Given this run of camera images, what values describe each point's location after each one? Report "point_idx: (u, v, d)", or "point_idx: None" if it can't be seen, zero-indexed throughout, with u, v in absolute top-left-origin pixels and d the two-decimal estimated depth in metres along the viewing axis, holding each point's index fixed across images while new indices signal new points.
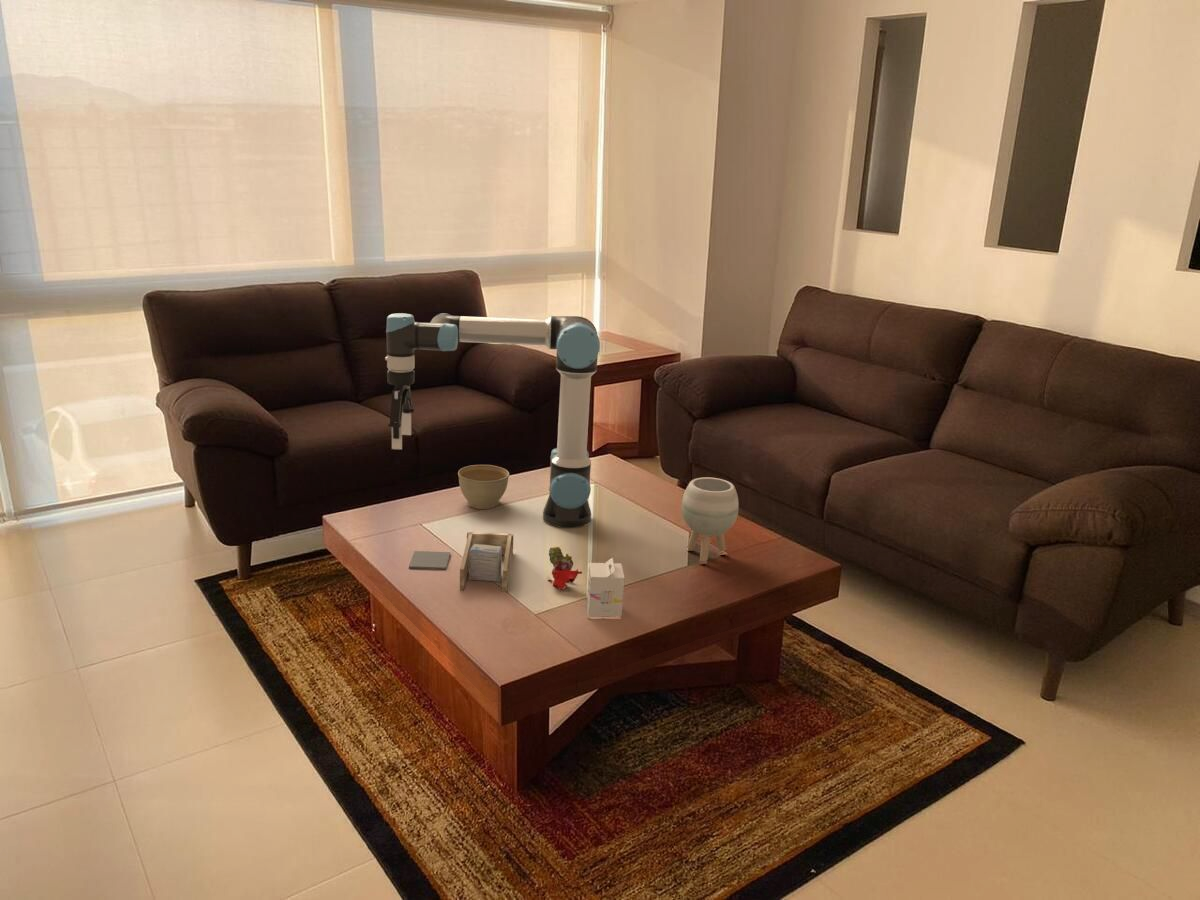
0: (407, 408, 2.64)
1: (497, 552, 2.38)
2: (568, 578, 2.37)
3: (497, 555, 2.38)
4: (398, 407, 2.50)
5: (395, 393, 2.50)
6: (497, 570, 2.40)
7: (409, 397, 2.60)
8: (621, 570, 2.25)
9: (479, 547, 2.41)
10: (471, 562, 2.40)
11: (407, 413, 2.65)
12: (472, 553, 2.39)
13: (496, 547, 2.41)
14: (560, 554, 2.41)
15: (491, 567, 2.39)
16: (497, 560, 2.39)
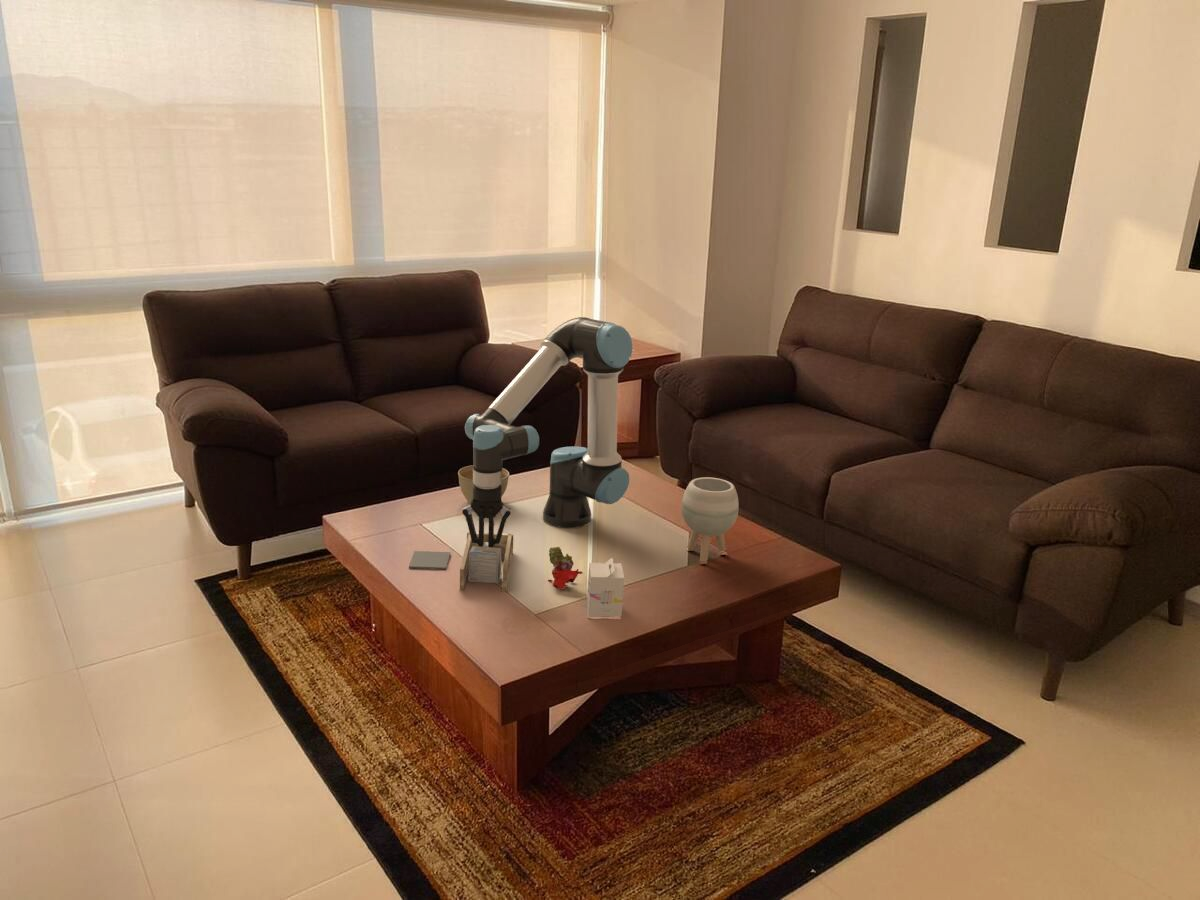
0: None
1: (497, 554, 2.37)
2: (568, 578, 2.37)
3: (497, 557, 2.37)
4: None
5: None
6: (497, 572, 2.38)
7: (490, 520, 2.39)
8: (621, 570, 2.25)
9: (478, 549, 2.39)
10: (470, 564, 2.38)
11: (487, 544, 2.42)
12: (472, 555, 2.37)
13: (495, 549, 2.40)
14: (560, 554, 2.41)
15: (491, 569, 2.38)
16: (497, 562, 2.37)
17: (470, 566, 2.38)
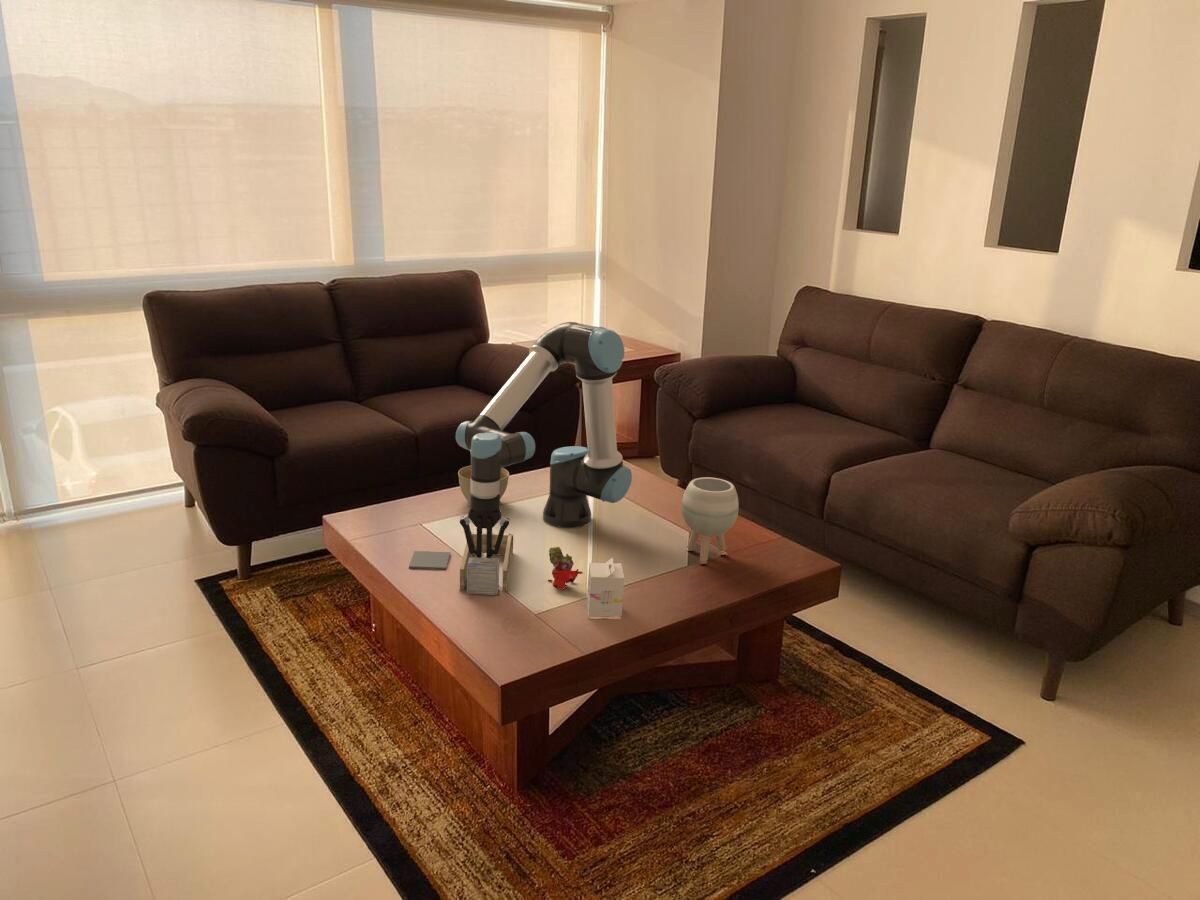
0: None
1: (496, 564, 2.31)
2: (568, 578, 2.37)
3: (496, 568, 2.31)
4: None
5: None
6: (496, 583, 2.32)
7: (488, 531, 2.32)
8: (621, 570, 2.25)
9: (476, 560, 2.33)
10: (469, 576, 2.32)
11: (485, 555, 2.36)
12: (470, 567, 2.31)
13: (494, 559, 2.34)
14: (560, 554, 2.41)
15: (490, 580, 2.32)
16: (496, 573, 2.31)
17: (468, 578, 2.32)
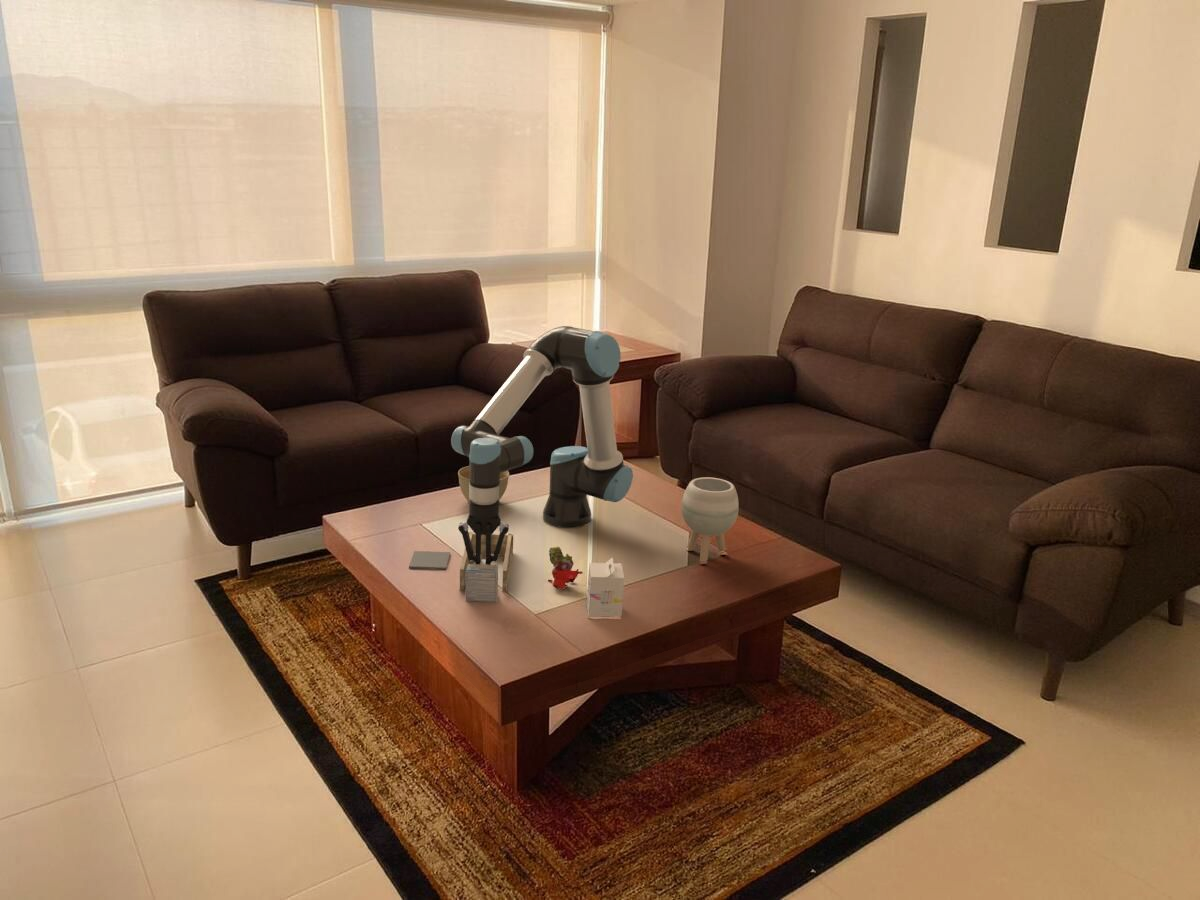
0: None
1: (495, 571, 2.28)
2: (568, 578, 2.37)
3: (495, 574, 2.27)
4: None
5: None
6: (495, 590, 2.29)
7: (487, 537, 2.29)
8: (621, 570, 2.25)
9: (475, 567, 2.29)
10: (467, 583, 2.28)
11: (484, 562, 2.32)
12: (469, 574, 2.27)
13: (492, 566, 2.30)
14: (560, 554, 2.41)
15: (489, 587, 2.28)
16: (495, 580, 2.28)
17: (467, 585, 2.28)
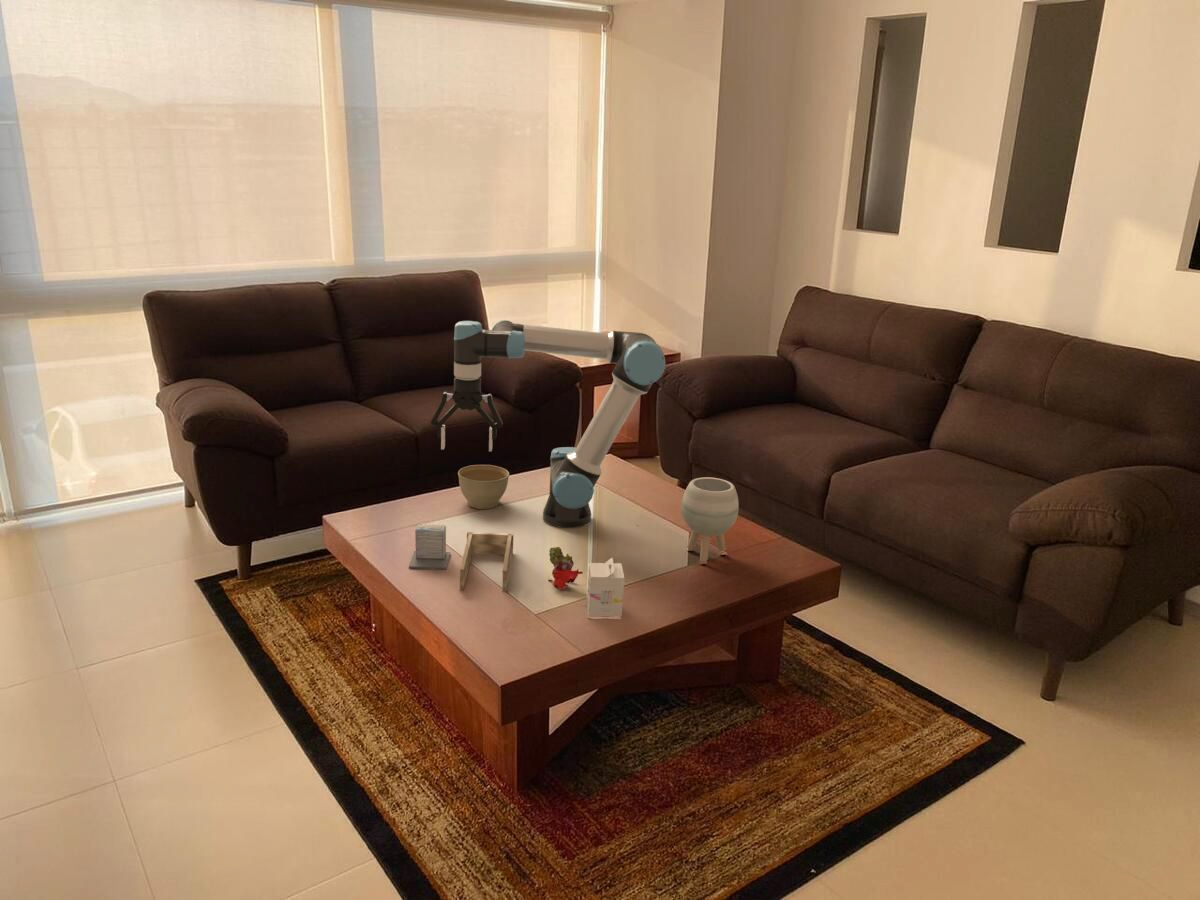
0: None
1: (442, 530, 2.48)
2: (568, 578, 2.37)
3: (442, 533, 2.48)
4: (438, 407, 2.56)
5: None
6: (443, 548, 2.49)
7: (478, 409, 2.56)
8: (621, 570, 2.25)
9: (424, 527, 2.50)
10: (417, 541, 2.49)
11: (490, 428, 2.59)
12: (418, 533, 2.48)
13: (440, 526, 2.51)
14: (560, 554, 2.41)
15: (437, 545, 2.49)
16: (442, 538, 2.48)
17: (416, 543, 2.49)
